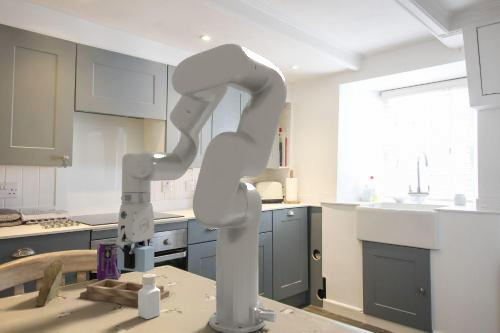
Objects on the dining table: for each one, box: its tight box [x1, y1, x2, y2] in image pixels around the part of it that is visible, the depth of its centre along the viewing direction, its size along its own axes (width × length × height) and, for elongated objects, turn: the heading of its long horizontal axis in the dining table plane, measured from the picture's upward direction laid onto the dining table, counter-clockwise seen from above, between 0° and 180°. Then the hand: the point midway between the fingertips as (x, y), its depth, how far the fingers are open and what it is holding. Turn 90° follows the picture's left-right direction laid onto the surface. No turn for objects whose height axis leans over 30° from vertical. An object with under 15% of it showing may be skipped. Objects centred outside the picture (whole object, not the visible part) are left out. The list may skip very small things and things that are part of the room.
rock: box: [34, 260, 65, 307], centre depth 97 cm, size 11×9×10 cm
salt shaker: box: [137, 273, 161, 320], centre depth 85 cm, size 4×4×10 cm
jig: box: [79, 279, 170, 307], centre depth 99 cm, size 22×10×3 cm, turn 68°
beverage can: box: [96, 239, 122, 281], centre depth 116 cm, size 7×7×12 cm
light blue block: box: [117, 242, 155, 273], centre depth 98 cm, size 9×4×7 cm, turn 68°
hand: (135, 265), depth 98 cm, fingers closed on light blue block, 4 cm apart
